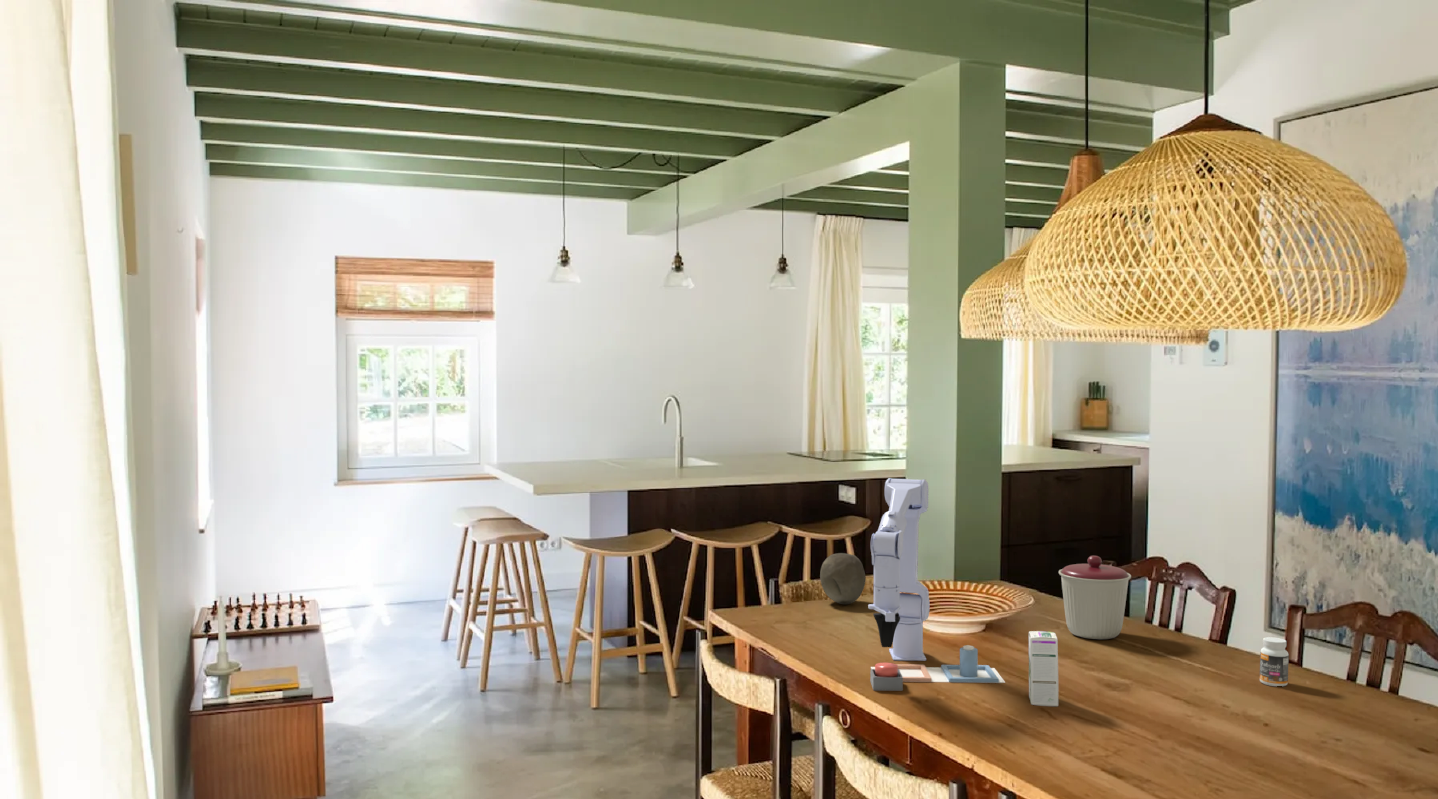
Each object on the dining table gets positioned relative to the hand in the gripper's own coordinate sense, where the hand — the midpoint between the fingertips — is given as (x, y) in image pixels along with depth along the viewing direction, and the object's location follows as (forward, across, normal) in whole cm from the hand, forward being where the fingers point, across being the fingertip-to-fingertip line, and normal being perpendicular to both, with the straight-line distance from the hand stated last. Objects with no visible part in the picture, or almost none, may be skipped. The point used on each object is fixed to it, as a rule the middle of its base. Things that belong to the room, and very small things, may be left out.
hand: (886, 646), depth 237 cm
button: (+6, 0, 0) cm, 6 cm away
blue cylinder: (+9, -9, +20) cm, 24 cm away
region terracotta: (+9, -9, +5) cm, 14 cm away
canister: (+9, -48, +60) cm, 77 cm away
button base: (+9, 0, 0) cm, 9 cm away
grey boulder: (+9, -83, -4) cm, 84 cm away
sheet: (+9, -9, +12) cm, 18 cm away
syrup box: (+9, +10, +32) cm, 35 cm away
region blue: (+9, -9, +20) cm, 24 cm away
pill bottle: (+9, -6, +87) cm, 88 cm away
